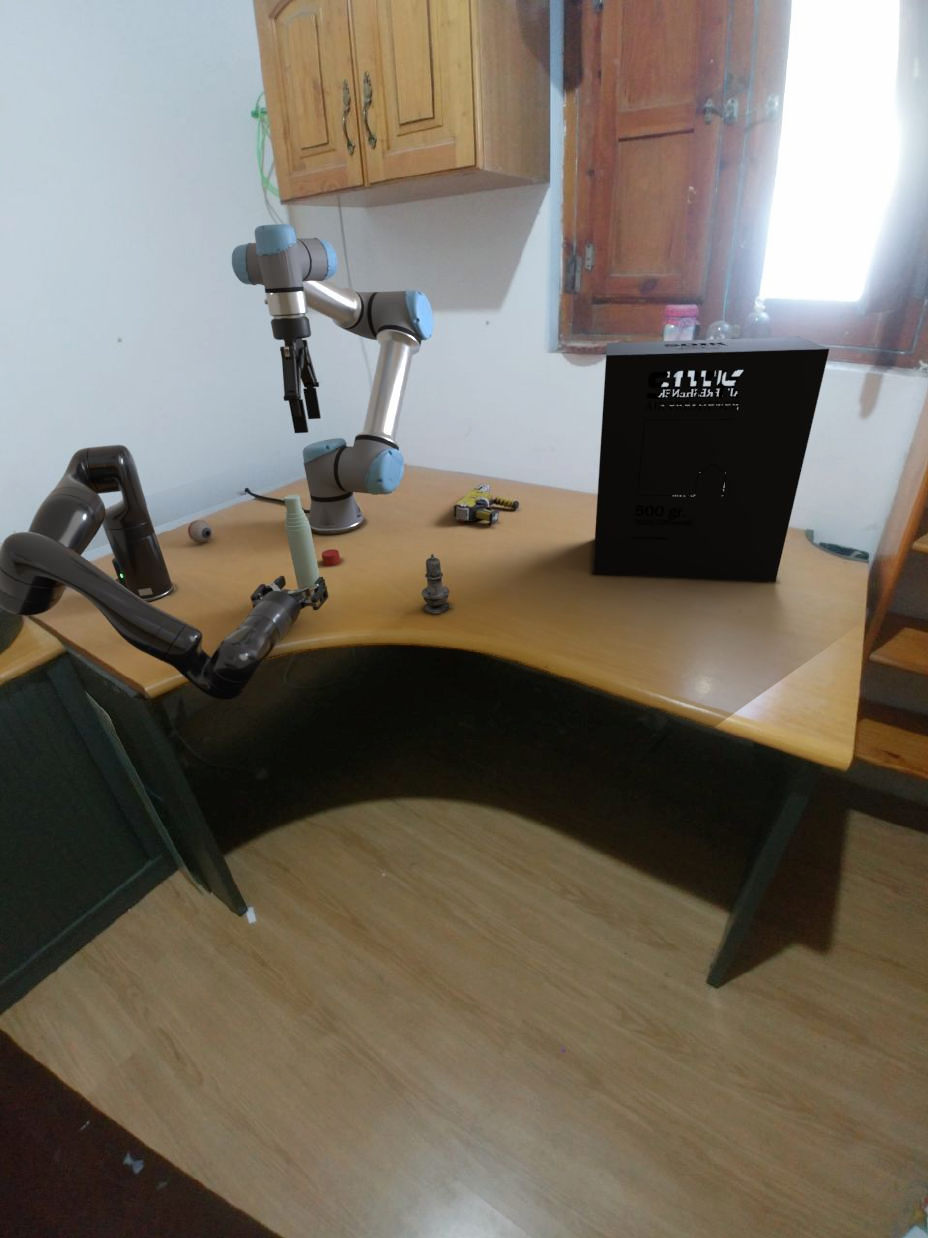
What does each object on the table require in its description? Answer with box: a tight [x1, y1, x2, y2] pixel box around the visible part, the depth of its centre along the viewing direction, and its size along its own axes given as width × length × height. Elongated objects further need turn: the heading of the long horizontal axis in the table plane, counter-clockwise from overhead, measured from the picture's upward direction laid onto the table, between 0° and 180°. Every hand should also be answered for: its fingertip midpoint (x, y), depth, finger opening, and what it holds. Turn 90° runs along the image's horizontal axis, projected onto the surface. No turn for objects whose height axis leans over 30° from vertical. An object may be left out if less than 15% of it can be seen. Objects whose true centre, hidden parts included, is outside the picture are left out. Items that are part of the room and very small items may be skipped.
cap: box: [321, 548, 341, 567], centre depth 147 cm, size 4×4×3 cm
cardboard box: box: [592, 336, 830, 583], centre depth 128 cm, size 38×20×45 cm, turn 78°
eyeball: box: [187, 519, 213, 544], centre depth 162 cm, size 6×6×6 cm
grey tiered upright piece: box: [420, 553, 451, 614], centre depth 122 cm, size 6×6×12 cm
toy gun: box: [452, 482, 520, 526], centre depth 172 cm, size 5×24×15 cm
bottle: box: [283, 493, 321, 598], centre depth 127 cm, size 5×5×23 cm
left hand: (302, 580), depth 127 cm, fingers open, 8 cm apart
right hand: (308, 425), depth 131 cm, fingers open, 13 cm apart
